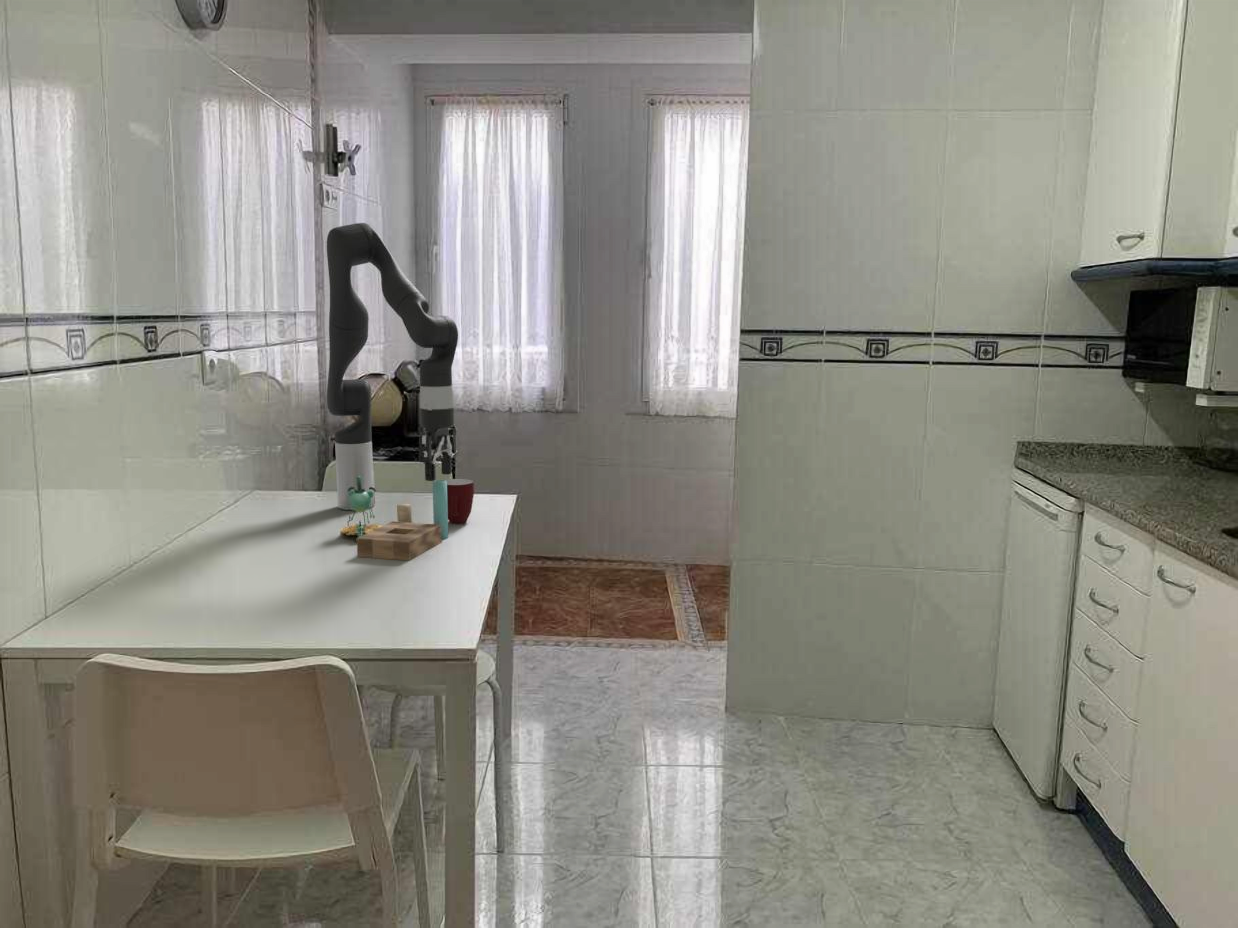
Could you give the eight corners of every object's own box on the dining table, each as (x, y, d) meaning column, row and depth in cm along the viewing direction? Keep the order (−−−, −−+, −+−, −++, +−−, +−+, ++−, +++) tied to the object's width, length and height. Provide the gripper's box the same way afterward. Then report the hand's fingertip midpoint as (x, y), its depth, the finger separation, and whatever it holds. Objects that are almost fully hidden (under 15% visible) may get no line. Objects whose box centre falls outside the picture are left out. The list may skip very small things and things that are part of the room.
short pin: (402, 532, 225) (401, 503, 224) (414, 533, 225) (413, 504, 223) (395, 536, 222) (394, 506, 221) (408, 536, 222) (407, 507, 220)
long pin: (437, 535, 223) (436, 480, 221) (450, 536, 222) (449, 480, 220) (431, 538, 220) (430, 482, 218) (444, 539, 219) (443, 483, 217)
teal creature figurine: (327, 544, 215) (325, 478, 214) (351, 534, 233) (350, 472, 232) (370, 544, 215) (368, 478, 214) (391, 534, 232) (390, 472, 232)
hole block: (393, 538, 220) (392, 521, 219) (441, 542, 217) (441, 524, 216) (357, 556, 205) (356, 538, 204) (409, 560, 202) (408, 542, 201)
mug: (474, 527, 231) (473, 486, 229) (440, 528, 229) (439, 487, 228) (474, 517, 241) (473, 478, 239) (441, 518, 240) (440, 479, 238)
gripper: (435, 402, 224) (437, 471, 226) (406, 408, 210) (409, 482, 213) (465, 403, 222) (466, 473, 225) (438, 409, 208) (440, 483, 211)
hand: (438, 477), depth 219 cm, fingers open, 8 cm apart
